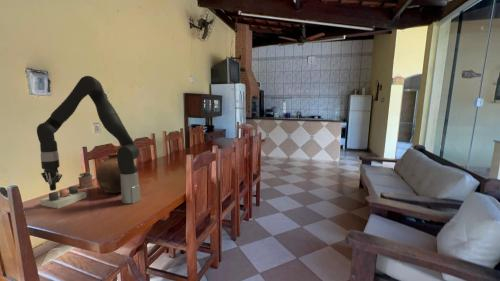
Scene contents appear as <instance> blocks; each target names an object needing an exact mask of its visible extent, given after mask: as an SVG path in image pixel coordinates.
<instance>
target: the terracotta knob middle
mask: <svg viewBox="0 0 500 281" xmlns="http://www.w3.org/2000/svg"><path fill="white" fill-rule="evenodd" d="M68 190H69V188H63V189H59V190H58V191H59V192H58V194H60V197H64V196H68Z"/></svg>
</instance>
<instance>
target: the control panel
mask: <svg viewBox="0 0 500 281" xmlns="http://www.w3.org/2000/svg"><path fill="white" fill-rule="evenodd" d="M87 196H88V195H87V192H84V191H79V190H78V192H76V193H69V189H68V196H64V197H60V194H59V193H58V197H59V198H58V199H56V200H49V196H47V197H45V198H42V199H40V200H39V201H40V203H39V204H40V206H44V207H48V208H54V209H60V208H62V207H63V208H64V207H66V206H68V205H70V204H73V203H76V202H78V201H80V200H84V199H87Z"/></svg>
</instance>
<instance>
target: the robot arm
mask: <svg viewBox="0 0 500 281" xmlns="http://www.w3.org/2000/svg"><path fill="white" fill-rule="evenodd" d="M87 96H89V97H90V99H91V101H92V102H93V104H94V105H95V109H96V113H97V115H98V118H99V121H100V122H101V124H102V125H103V127H104V129H105V130H106V131H107V132H108V133H109V134H111V135H112V137H114V138H115V139H116V140H117V141H118V142H119V144H120V147H119V148H118V149H117V152H116V154H117V161H118V168H119V170H120V181H121V192H120V195H121V197H120V198H121V203H122V204H125V205H126V204H135V203H137V202H139V201H140V200H141V185H140V184H139V169H138V166H137V165H135V166H134V164H135V160H136V159H137V158H138V157H139V156H140V149H139V147H138V146H137V144H136V143H135V141H134V140H133V138H132V137H131V136H130V134H129V133H128V130H127V129H126V127H125V125H124V124H123V122H122V120H121V118H120V116H119V114H118V113H117V111H116V110H115V108H114V106H113V105H112V103H111V102H110V101H109V99H108V97H107V95H106V93H105V90H104V88H103V86H102V84H101V82H100V80H98V79H97V78H95V77H93V76H91V75H85V76H83V77H81V78H80V79H79V80H78V81H77V83H76V85H75V86H74V87H73V89H72V90H71V91H70V93H69V94H68V96H66V98H65V99H64V100H63V102H61V104H59V105H58V106H57V107H56V109H54V111H53V112H52V113H51V114H50V116H49V118H48V119H46V120H45V121H44V122H42V123H39V124H38V126H37V127H36V135H37V139H38V141H39V148H40V164H41V166H40V167H41V169H42V170H44V171H43V172H41V173H40V175H41V176H42V178H43V179H44V181H45V183H48V185H49V191H51V192H52V191H56V190H57V183H59V182H60V180H61V179H62V177H63V174H62V173H59V168H60V156H59V150H58V142H57V141H56V138H55V133H56V132H58V130H59V129H60V128H61V127H62V126H63V125H64V123H65V122H67V121H68V120H69V119H70V117H71V116H72V115H73V114H74V113H75V111H76V110H77V108H78V106H79V105H80V103H81V102H82V101H83V99H84V98H85V97H87Z"/></svg>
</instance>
